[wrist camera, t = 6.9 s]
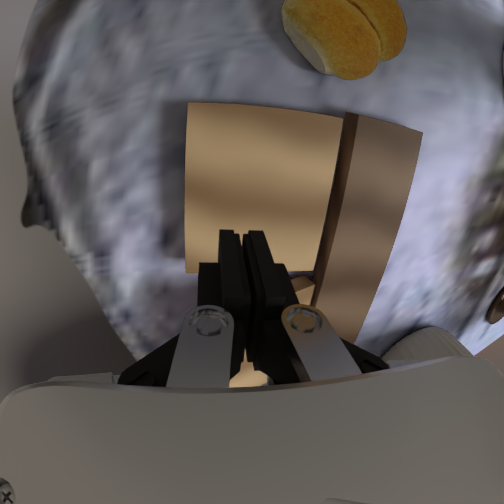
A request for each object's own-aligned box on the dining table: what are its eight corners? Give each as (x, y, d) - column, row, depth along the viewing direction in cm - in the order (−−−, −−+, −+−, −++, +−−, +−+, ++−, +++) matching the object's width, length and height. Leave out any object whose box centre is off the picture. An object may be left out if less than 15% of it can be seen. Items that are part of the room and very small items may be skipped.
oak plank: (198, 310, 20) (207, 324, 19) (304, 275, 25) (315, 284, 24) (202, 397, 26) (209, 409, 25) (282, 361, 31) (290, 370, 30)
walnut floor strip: (345, 111, 19) (359, 114, 17) (408, 127, 20) (423, 132, 18) (290, 359, 32) (294, 373, 30) (337, 353, 33) (342, 366, 31)
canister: (328, 388, 37) (375, 519, 19) (416, 292, 30) (516, 436, 12) (398, 390, 43) (443, 483, 26) (468, 318, 36) (536, 412, 18)
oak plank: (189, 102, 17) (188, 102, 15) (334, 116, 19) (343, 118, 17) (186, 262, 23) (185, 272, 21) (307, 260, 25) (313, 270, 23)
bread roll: (407, 43, 16) (439, 41, 13) (330, 95, 18) (356, 97, 15) (347, -38, 12) (372, -54, 9) (256, 8, 14) (269, -10, 11)
